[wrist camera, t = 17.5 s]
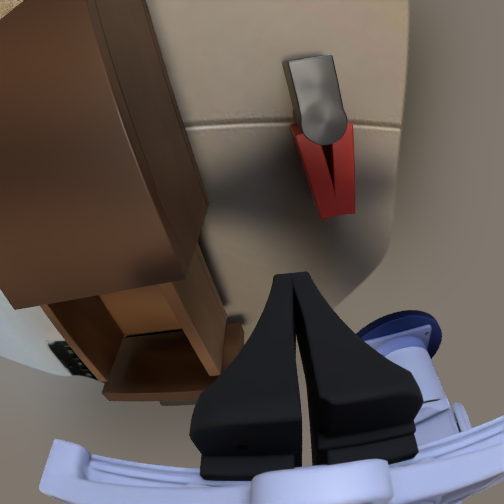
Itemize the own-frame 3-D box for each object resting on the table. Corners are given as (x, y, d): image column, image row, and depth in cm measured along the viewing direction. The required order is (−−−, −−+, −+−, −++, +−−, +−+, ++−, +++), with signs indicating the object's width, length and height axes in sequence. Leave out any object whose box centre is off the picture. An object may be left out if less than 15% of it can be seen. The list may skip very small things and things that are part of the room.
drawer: (257, 363, 29) (256, 423, 23) (148, 374, 30) (135, 426, 25) (187, 179, 19) (160, 228, 14) (52, 222, 21) (7, 271, 15)
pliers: (326, 55, 16) (341, 53, 13) (351, 192, 20) (366, 215, 17) (274, 64, 16) (277, 63, 13) (305, 201, 21) (313, 226, 18)
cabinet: (209, 203, 21) (186, 279, 14) (65, 243, 23) (14, 310, 16) (143, -5, 13) (78, -36, 7) (-1, 80, 15) (-80, 106, 8)
